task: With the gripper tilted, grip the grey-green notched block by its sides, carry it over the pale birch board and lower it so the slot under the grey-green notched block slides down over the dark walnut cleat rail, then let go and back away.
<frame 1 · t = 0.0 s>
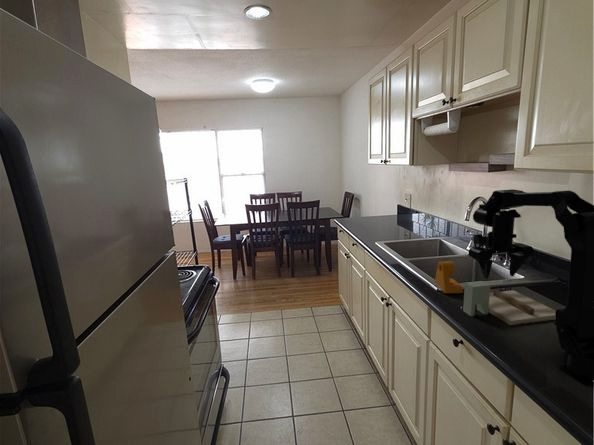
hand: (498, 277, 104), 15 cm above the worktop, tool pointing down, fingers open, 9 cm apart
bracket: (448, 290, 132), on the worktop
grey-green notched block: (475, 312, 112), on the worktop
cleat board: (511, 308, 114), on the worktop
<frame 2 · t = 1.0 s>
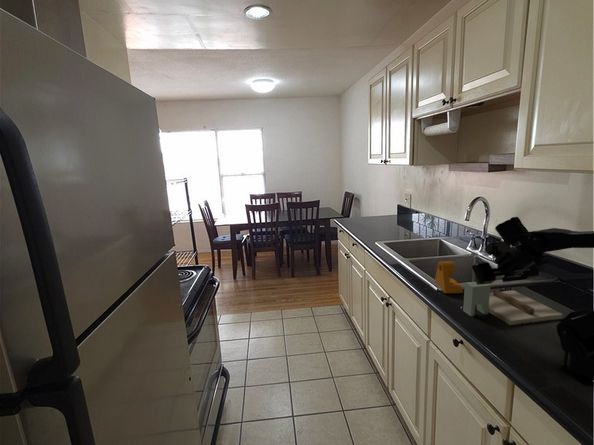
hand: (489, 281, 104), 13 cm above the worktop, tool tilted 45°, fingers open, 9 cm apart
nothing on the worktop moved.
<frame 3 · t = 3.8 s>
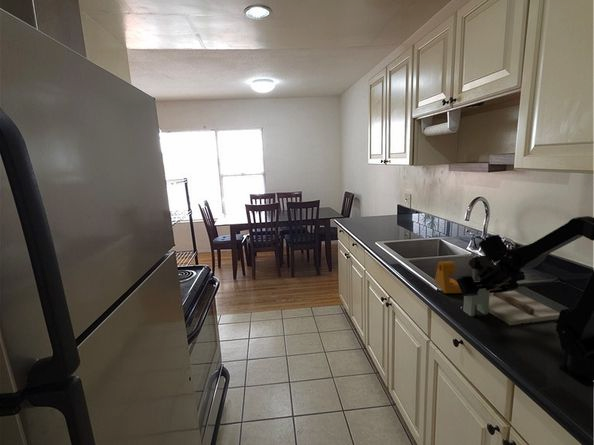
hand: (473, 293, 112), 7 cm above the worktop, tool tilted 45°, fingers closed on grey-green notched block, 6 cm apart
grey-green notched block: (475, 312, 112), on the worktop, touching gripper
everything else where it was.
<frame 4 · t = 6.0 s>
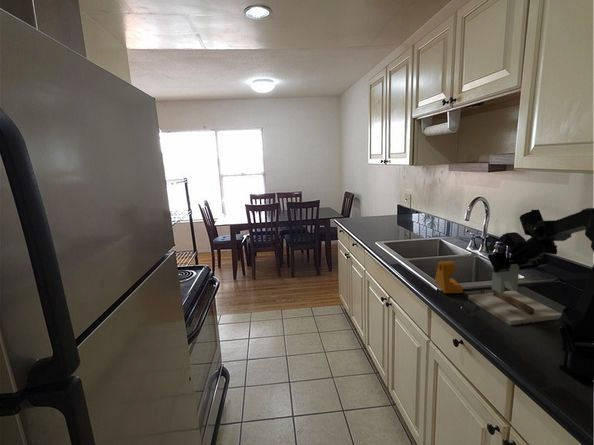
hand: (502, 270, 113), 14 cm above the worktop, tool tilted 45°, fingers closed on grey-green notched block, 6 cm apart
grey-green notched block: (504, 289, 112), point 7 cm above the worktop, touching gripper
everything else where it was.
when the fingers open (9 cm above the worktop, at t = 8.2 s): grey-green notched block stays where it is, resting on cleat board.
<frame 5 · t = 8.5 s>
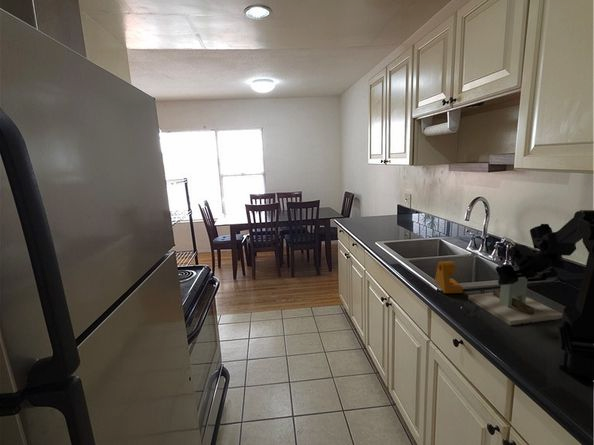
hand: (510, 282, 114), 9 cm above the worktop, tool tilted 45°, fingers open, 9 cm apart
grey-green notched block: (511, 304, 114), point 1 cm above the worktop, touching cleat board
everything else where it was.
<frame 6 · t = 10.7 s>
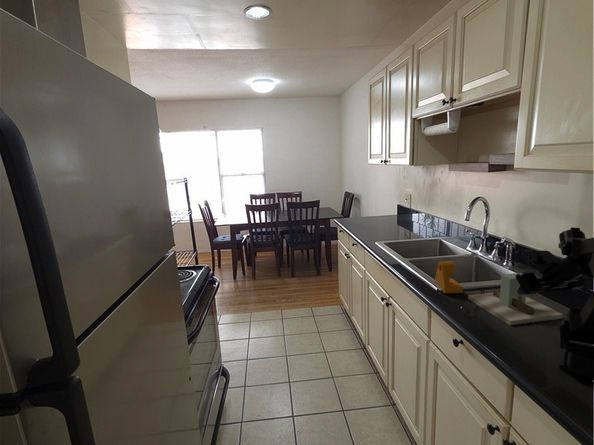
hand: (531, 291, 103), 10 cm above the worktop, tool tilted 45°, fingers open, 9 cm apart
nothing on the worktop moved.
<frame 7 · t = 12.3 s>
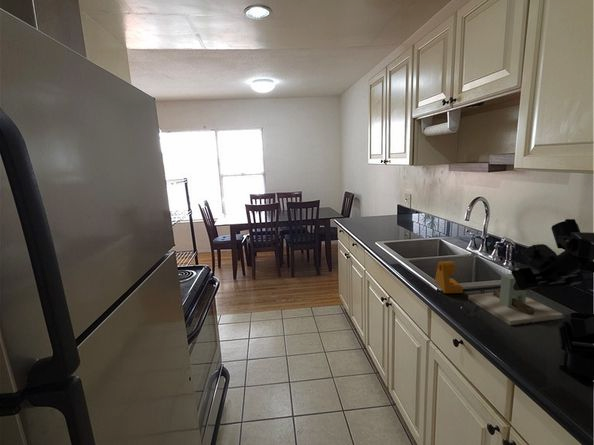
hand: (527, 287, 98), 14 cm above the worktop, tool tilted 45°, fingers open, 9 cm apart
nothing on the worktop moved.
at the end: grey-green notched block inside the target area on the cleat board (0.0 cm from its centre), point 1.5 cm above the cleat board's base; grey-green notched block tilted 0°; the gripper is holding nothing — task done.
